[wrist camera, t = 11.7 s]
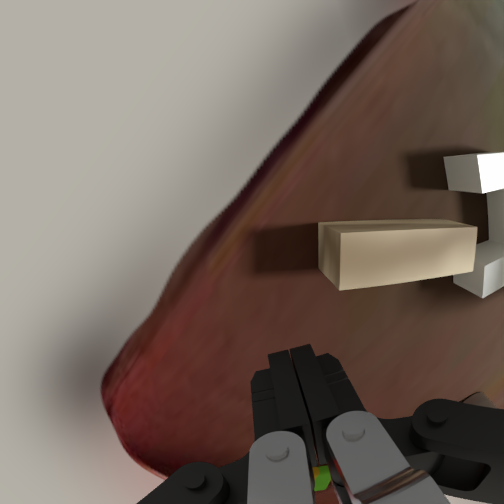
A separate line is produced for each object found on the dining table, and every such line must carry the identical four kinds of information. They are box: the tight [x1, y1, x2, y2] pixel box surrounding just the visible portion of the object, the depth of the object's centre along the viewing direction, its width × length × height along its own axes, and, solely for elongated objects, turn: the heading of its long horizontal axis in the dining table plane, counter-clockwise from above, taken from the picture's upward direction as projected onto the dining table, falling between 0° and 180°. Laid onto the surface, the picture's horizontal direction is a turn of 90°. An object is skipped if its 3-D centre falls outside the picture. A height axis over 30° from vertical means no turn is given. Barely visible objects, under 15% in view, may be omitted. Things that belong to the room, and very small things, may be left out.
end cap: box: [443, 152, 504, 298], centre depth 19 cm, size 12×8×4 cm, turn 14°
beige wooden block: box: [318, 219, 477, 290], centre depth 19 cm, size 4×12×5 cm, turn 93°
